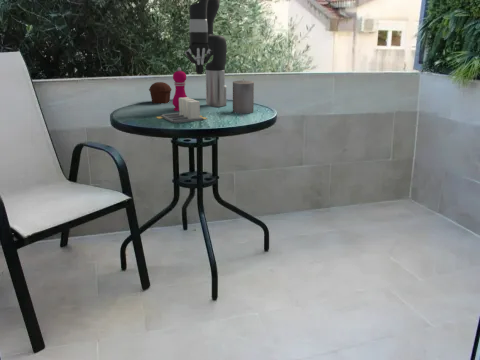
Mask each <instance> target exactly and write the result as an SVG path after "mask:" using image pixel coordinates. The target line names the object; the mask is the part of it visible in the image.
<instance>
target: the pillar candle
mask: <svg viewBox="0 0 480 360" xmlns="http://www.w3.org/2000/svg"><path fill="white" fill-rule="evenodd" d="M254 83H255V82H254V81H252V80H245V79H244V78H243V79H242V80H234V81H232V113H235V114H240V115H241V114H242V113H243V115H244V114H252V113H253V112H254V109H255V108H254V107H255V106H254V104H255V103H254V99H255V98H254V97H255V95H254V94H255V92H254V91H255V88H254V87H255V84H254Z"/></svg>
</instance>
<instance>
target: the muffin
mask: <svg viewBox="0 0 480 360" xmlns="http://www.w3.org/2000/svg"><path fill="white" fill-rule="evenodd" d="M148 90H149V92H150V98H151V102H152V104H156V103H160V104H161V103H164V104H169V103H170V102H169V101H171V92H172V88H171V86H170V85H169V84H168V83H167V82H164V81H159V82H154V83H153V84H151V85H150V87H149V88H148ZM168 102H169V103H168Z"/></svg>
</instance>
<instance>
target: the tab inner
mask: <svg viewBox="0 0 480 360" xmlns="http://www.w3.org/2000/svg"><path fill="white" fill-rule="evenodd" d="M183 99H191V97H188V96H187V97H183V98H179V111H178V113H179V115H184V113H183Z"/></svg>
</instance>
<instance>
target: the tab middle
mask: <svg viewBox="0 0 480 360" xmlns="http://www.w3.org/2000/svg"><path fill="white" fill-rule="evenodd" d="M187 101H195V99H193V98H190V99H183V113H184V117H188V105H187Z"/></svg>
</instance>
